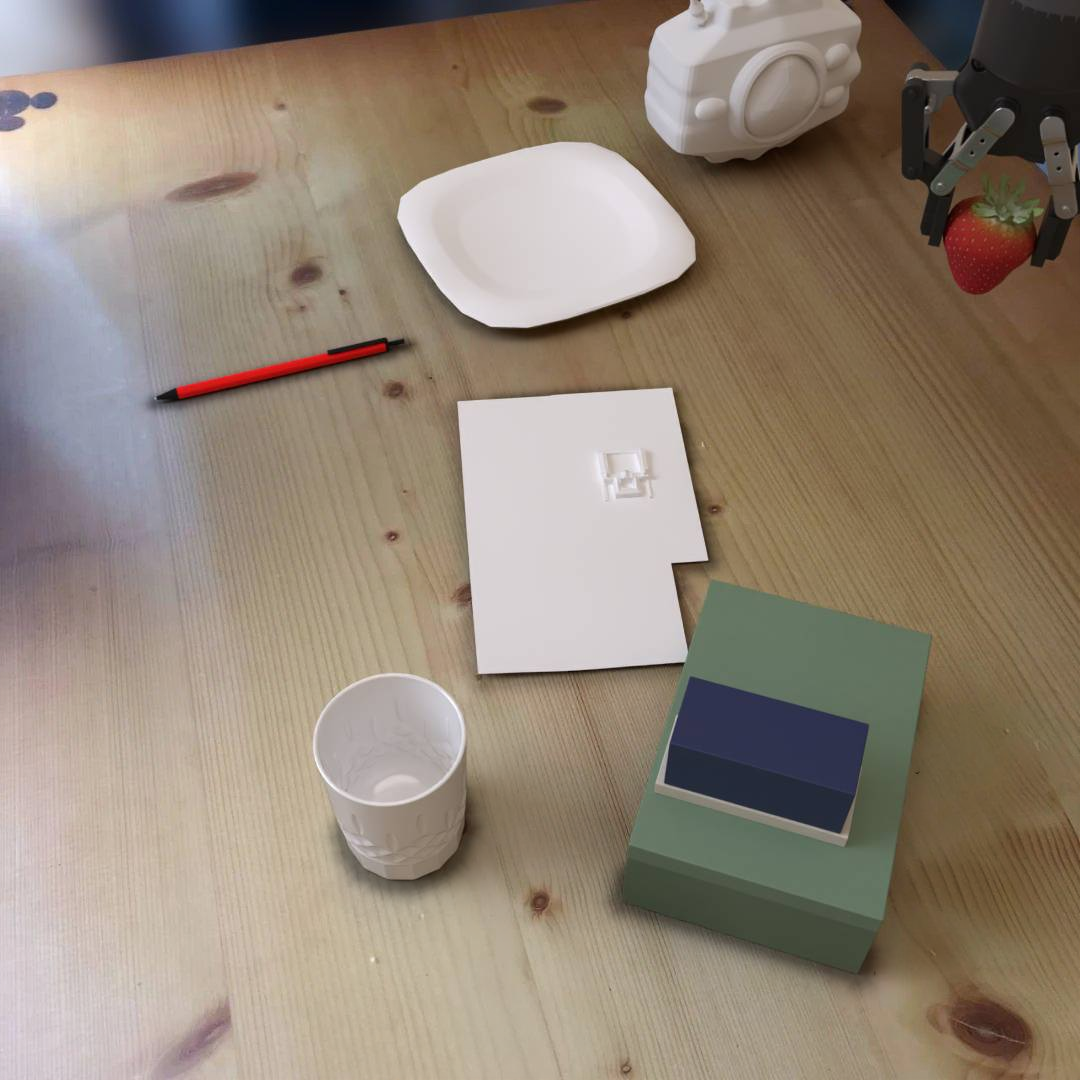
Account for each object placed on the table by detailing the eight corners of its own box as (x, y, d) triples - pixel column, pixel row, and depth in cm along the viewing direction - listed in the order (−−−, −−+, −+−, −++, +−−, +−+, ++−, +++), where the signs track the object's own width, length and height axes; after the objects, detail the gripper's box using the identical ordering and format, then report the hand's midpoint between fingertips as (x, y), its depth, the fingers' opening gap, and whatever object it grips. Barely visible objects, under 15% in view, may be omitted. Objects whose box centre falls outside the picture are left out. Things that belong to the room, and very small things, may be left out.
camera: (627, 141, 117) (638, -31, 105) (800, 96, 122) (829, -74, 110) (685, 210, 111) (702, 35, 99) (864, 159, 116) (903, -13, 103)
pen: (406, 349, 100) (404, 338, 99) (156, 407, 96) (152, 396, 95) (403, 341, 101) (401, 330, 100) (154, 399, 97) (151, 388, 96)
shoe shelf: (906, 700, 80) (932, 634, 75) (857, 974, 69) (883, 921, 64) (699, 645, 83) (710, 578, 77) (621, 901, 72) (628, 844, 66)
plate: (724, 281, 105) (727, 264, 104) (479, 362, 99) (478, 345, 98) (599, 141, 117) (600, 124, 116) (374, 205, 111) (372, 188, 110)
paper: (441, 404, 96) (440, 394, 95) (669, 381, 97) (670, 370, 97) (479, 689, 80) (479, 679, 79) (750, 656, 82) (752, 646, 81)
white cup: (364, 914, 71) (343, 830, 64) (317, 796, 76) (291, 705, 68) (496, 857, 73) (491, 768, 66) (442, 746, 78) (431, 651, 70)
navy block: (858, 774, 69) (877, 724, 65) (844, 847, 66) (863, 799, 62) (675, 723, 71) (683, 671, 67) (654, 792, 68) (660, 742, 64)
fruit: (1016, 326, 78) (1055, 215, 72) (926, 314, 79) (956, 204, 73) (1016, 273, 82) (1053, 163, 75) (928, 261, 82) (958, 152, 76)
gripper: (914, -14, 64) (854, 262, 77) (1223, 33, 61) (1106, 313, 74) (937, -82, 69) (877, 190, 82) (1226, -41, 65) (1115, 236, 78)
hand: (986, 247), depth 78 cm, fingers closed on fruit, 5 cm apart
